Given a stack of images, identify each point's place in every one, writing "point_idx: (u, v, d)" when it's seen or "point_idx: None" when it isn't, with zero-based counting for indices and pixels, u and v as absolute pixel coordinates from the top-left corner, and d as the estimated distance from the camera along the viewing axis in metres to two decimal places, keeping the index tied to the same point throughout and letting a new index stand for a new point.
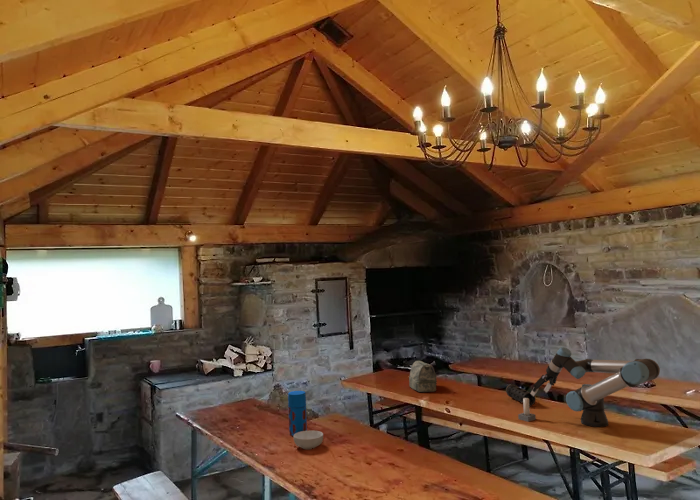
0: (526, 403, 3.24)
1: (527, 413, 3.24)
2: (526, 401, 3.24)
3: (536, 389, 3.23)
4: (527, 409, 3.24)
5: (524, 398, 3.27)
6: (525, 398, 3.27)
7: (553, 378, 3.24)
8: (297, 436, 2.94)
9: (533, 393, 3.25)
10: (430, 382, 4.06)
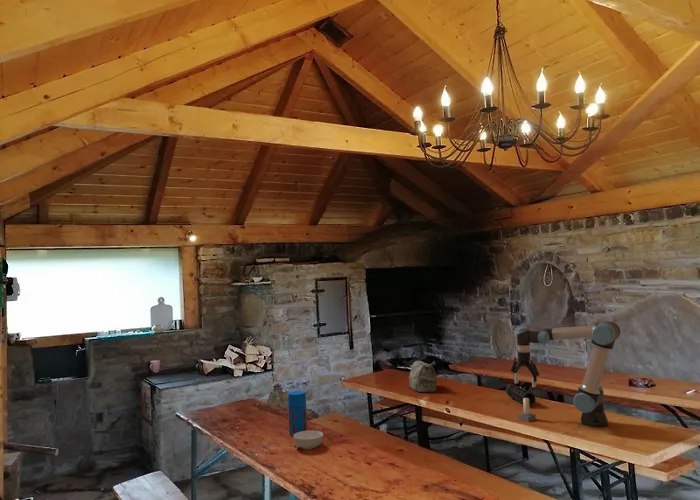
0: (526, 403, 3.24)
1: (527, 413, 3.24)
2: (526, 401, 3.24)
3: None
4: (527, 409, 3.24)
5: (524, 398, 3.27)
6: (525, 398, 3.27)
7: None
8: (297, 436, 2.94)
9: (535, 384, 3.21)
10: (430, 382, 4.06)
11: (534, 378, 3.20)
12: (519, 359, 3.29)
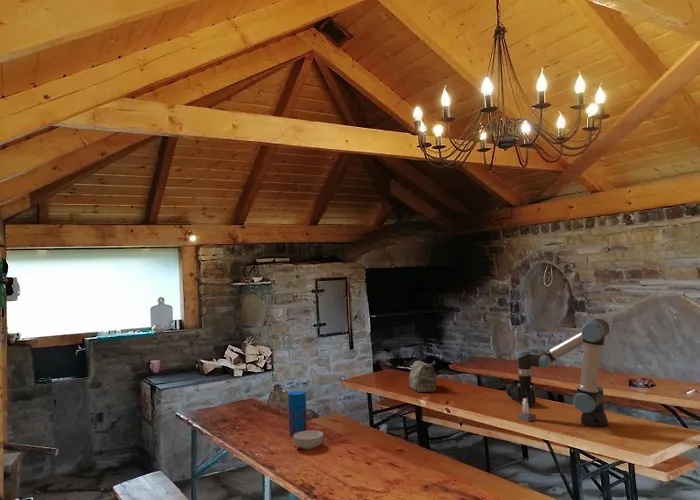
0: (526, 403, 3.24)
1: (527, 413, 3.24)
2: (526, 401, 3.24)
3: None
4: None
5: (524, 398, 3.27)
6: (525, 398, 3.27)
7: None
8: (297, 436, 2.94)
9: (530, 410, 3.24)
10: (430, 382, 4.06)
11: (529, 404, 3.23)
12: (520, 382, 3.28)
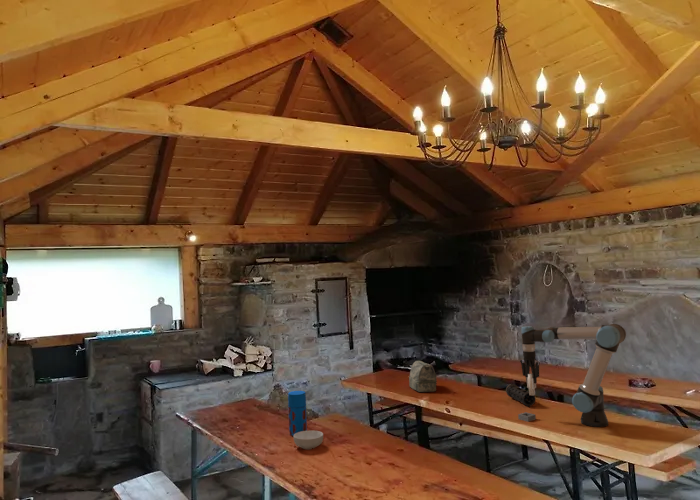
0: (531, 378, 3.24)
1: (532, 388, 3.24)
2: (531, 376, 3.24)
3: None
4: None
5: (529, 374, 3.26)
6: None
7: None
8: (297, 436, 2.94)
9: (535, 385, 3.24)
10: (430, 382, 4.06)
11: (534, 379, 3.23)
12: (524, 358, 3.28)
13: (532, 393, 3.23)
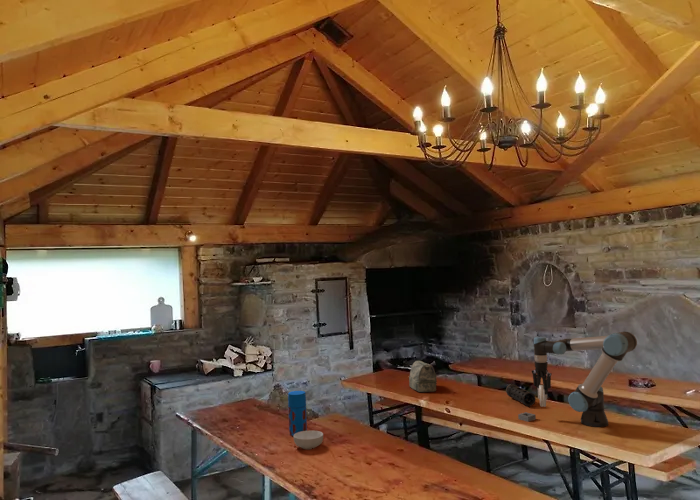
0: (542, 390, 3.23)
1: (543, 400, 3.23)
2: (542, 388, 3.23)
3: None
4: None
5: (540, 385, 3.25)
6: (541, 385, 3.25)
7: None
8: (297, 436, 2.94)
9: (546, 396, 3.23)
10: (430, 382, 4.06)
11: (545, 391, 3.22)
12: (536, 369, 3.27)
13: (543, 404, 3.23)
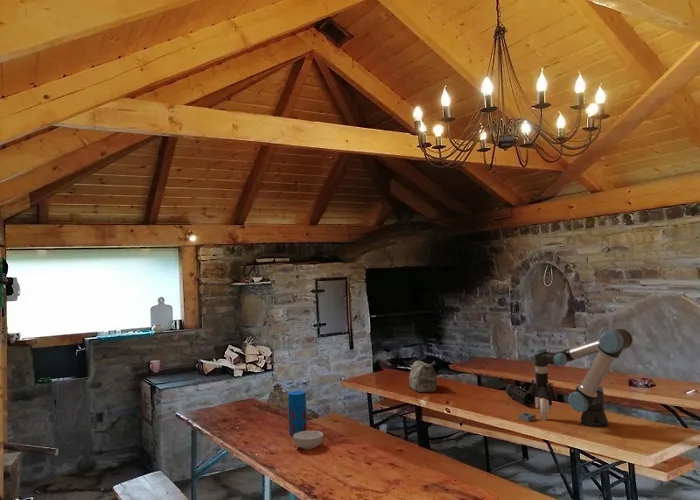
0: (543, 403, 3.23)
1: (544, 413, 3.22)
2: (543, 401, 3.23)
3: None
4: (544, 409, 3.22)
5: (541, 398, 3.25)
6: (542, 398, 3.25)
7: None
8: (297, 436, 2.94)
9: (550, 407, 3.20)
10: (430, 382, 4.06)
11: (549, 401, 3.19)
12: (537, 380, 3.27)
13: (544, 418, 3.22)
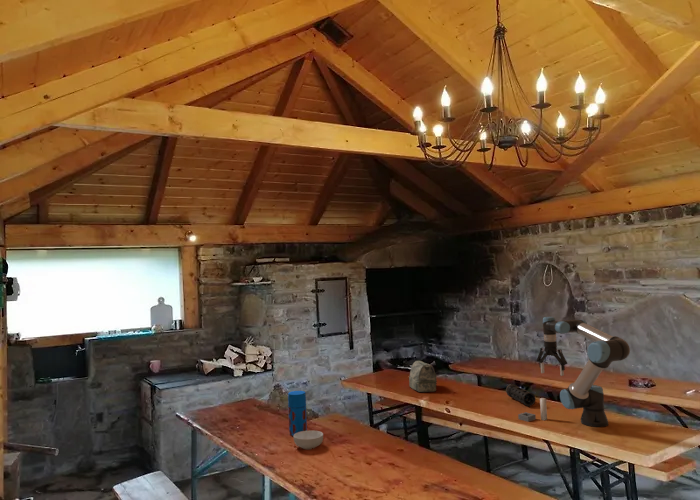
0: (543, 403, 3.23)
1: (544, 413, 3.22)
2: (543, 401, 3.23)
3: None
4: (544, 409, 3.22)
5: (541, 398, 3.25)
6: (542, 398, 3.25)
7: None
8: (297, 436, 2.94)
9: (563, 372, 3.24)
10: (430, 382, 4.06)
11: (562, 367, 3.23)
12: (545, 349, 3.31)
13: (544, 418, 3.22)
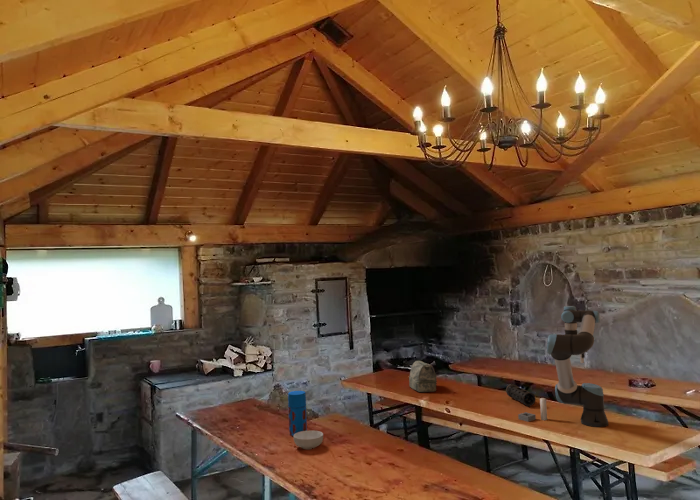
0: (543, 403, 3.23)
1: (544, 413, 3.22)
2: (543, 401, 3.23)
3: (582, 354, 3.34)
4: (544, 409, 3.22)
5: (541, 398, 3.25)
6: (542, 398, 3.25)
7: None
8: (297, 436, 2.94)
9: (582, 360, 3.34)
10: (430, 382, 4.06)
11: (582, 354, 3.33)
12: None
13: (544, 418, 3.22)
